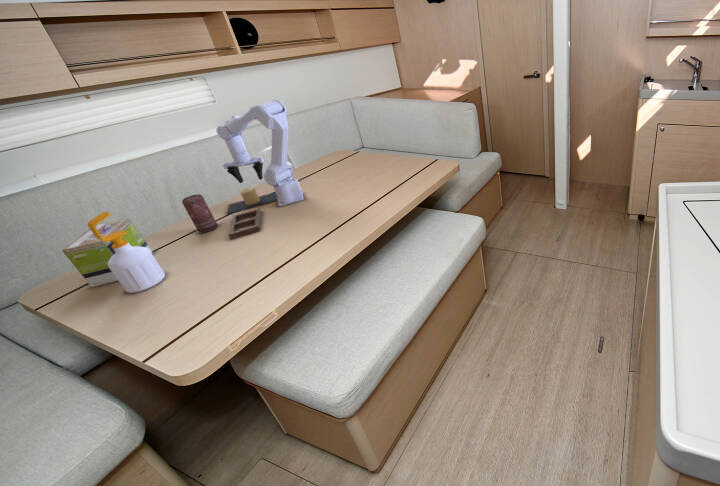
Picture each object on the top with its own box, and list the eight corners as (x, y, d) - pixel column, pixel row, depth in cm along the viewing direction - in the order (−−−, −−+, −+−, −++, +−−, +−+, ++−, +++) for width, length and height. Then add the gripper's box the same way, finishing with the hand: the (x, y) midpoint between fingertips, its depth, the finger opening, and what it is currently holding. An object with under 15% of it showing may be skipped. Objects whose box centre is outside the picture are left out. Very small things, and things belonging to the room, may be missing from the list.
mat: (276, 192, 162) (276, 192, 162) (276, 200, 155) (276, 200, 154) (229, 205, 154) (229, 204, 154) (227, 214, 147) (226, 213, 146)
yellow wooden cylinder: (260, 198, 158) (255, 186, 155) (259, 202, 153) (253, 190, 151) (246, 201, 155) (241, 189, 153) (245, 206, 151) (239, 194, 149)
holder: (261, 212, 146) (259, 208, 145) (259, 230, 132) (257, 226, 131) (235, 219, 142) (233, 215, 141) (230, 239, 128) (228, 234, 127)
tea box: (118, 260, 121) (93, 224, 115) (154, 252, 124) (131, 216, 118) (89, 288, 108) (59, 249, 102) (130, 278, 111) (103, 239, 105)
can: (222, 224, 139) (206, 193, 133) (208, 233, 133) (191, 201, 127) (209, 224, 140) (192, 193, 134) (194, 233, 134) (176, 201, 128)
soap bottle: (171, 276, 110) (128, 209, 100) (134, 296, 103) (83, 226, 92) (157, 270, 114) (114, 205, 103) (120, 289, 107) (70, 220, 96)
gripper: (214, 157, 143) (228, 187, 148) (254, 151, 146) (267, 180, 152) (222, 152, 149) (235, 181, 155) (260, 146, 152) (272, 174, 158)
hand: (251, 180), depth 154 cm, fingers open, 7 cm apart
